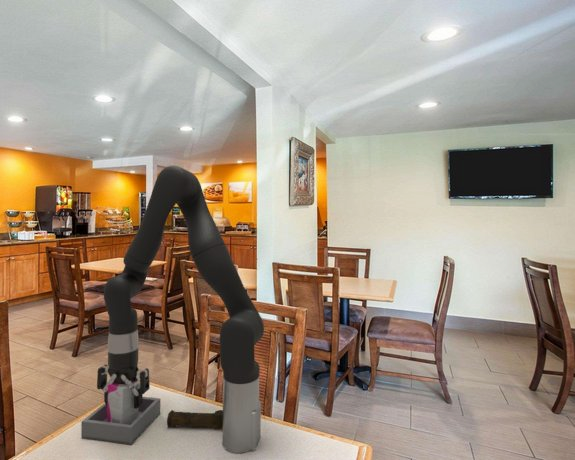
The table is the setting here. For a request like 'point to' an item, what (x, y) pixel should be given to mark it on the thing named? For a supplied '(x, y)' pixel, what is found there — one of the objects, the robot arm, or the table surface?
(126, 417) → the supplement box
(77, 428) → the table surface
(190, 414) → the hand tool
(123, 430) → the bin
